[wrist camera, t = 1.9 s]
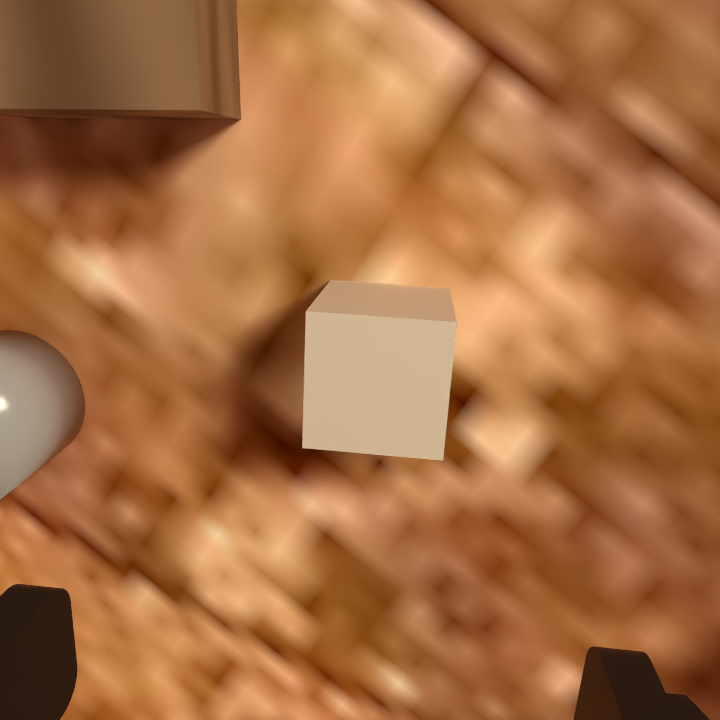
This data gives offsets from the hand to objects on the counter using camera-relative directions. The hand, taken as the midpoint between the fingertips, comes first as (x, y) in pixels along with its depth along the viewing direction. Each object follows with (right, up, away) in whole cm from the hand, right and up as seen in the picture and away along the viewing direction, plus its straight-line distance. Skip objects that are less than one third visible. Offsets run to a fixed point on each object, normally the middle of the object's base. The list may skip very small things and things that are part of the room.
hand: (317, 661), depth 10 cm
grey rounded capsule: (-15, +3, +20) cm, 26 cm away
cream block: (+2, +5, +18) cm, 19 cm away
